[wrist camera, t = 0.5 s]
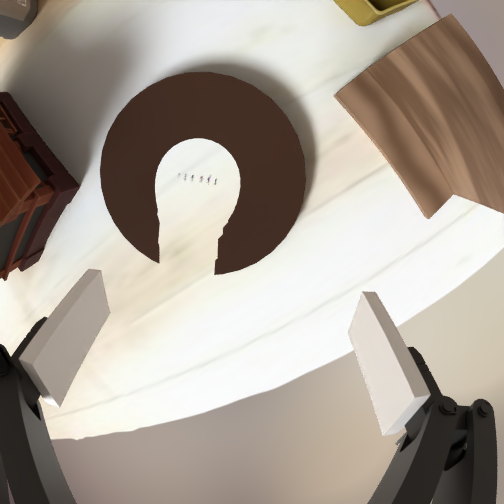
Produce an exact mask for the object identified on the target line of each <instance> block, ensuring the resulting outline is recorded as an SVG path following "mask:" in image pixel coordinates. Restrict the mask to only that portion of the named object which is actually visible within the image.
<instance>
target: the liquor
mask: <svg viewBox="0 0 504 504" xmlns="http://www.w3.org/2000/svg"><path fill="white" fill-rule="evenodd" d="M36 14H37V0H0V38H4V39H14V38H16V37H17V36H18V35H19V34H20V33H21V32H23V31H24V30H25V29H26V28H27V27H28V26H29V25H30V24H31V23H32V21H33V19H34V18H35V16H36Z"/></svg>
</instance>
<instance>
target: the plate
mask: <svg viewBox="0 0 504 504" xmlns="http://www.w3.org/2000/svg"><path fill="white" fill-rule="evenodd" d="M193 138H204V139H208V140H212V141H214V142H216V143H219V144H220V145H221V146H223V147H224V148H226V149H227V151H228V152H229V153H230V154H231V155H232V156H233V158H234V160H235V161H236V163H237V166H238V168H239V173H240V185H241V187H240V193H239V197H238V201H237V204H236V206H235V209H234V211H233V214H232V215H231V217H230V218H229V220H228V223H227V224H226V225H225V226H224V228H223V235H222V236H221V237H220V238H219V239H218V259H216V260H215V274H214V275H218V274H225V273H230V272H234V271H238V270H241V269H243V268H246V267H248V266H250V265H252V264H255V263H257V262H258V261H260V260H261V259H262V258H264V257H265V256H267V255H268V254H270V253H271V252H272V251H273V250H274V249H275V248H276V247H277V246H278V245H279V244H280V243H281V242H282V241H283V240H284V239H285V237H286V236H287V234H288V233H289V231H290V229H291V228H292V226H293V224H294V223H295V221H296V219H297V216H298V213H299V211H300V208H301V205H302V202H303V197H304V189H305V182H306V176H305V163H304V156H303V152H302V149H301V146H300V142H299V139H298V136H297V134H296V132H295V131H294V129H293V127H292V125H291V123H290V122H289V120H288V118H287V116H286V115H285V114H284V113H283V112H282V110H281V109H280V108H279V107H278V106H277V105H276V104H275V103H274V101H273V100H272V99H271V98H269V97H268V96H267V95H265V94H264V93H263V92H261V91H260V90H258V89H257V88H256V87H254V86H253V85H251V84H248V83H246V82H244V81H241V80H239V79H237V78H234V77H232V76H227V75H222V74H217V73H212V72H193V73H184V74H180V75H176V76H172V77H168V78H165V79H163V80H161V81H159V82H157V83H155V84H153V85H151V86H149V87H147V88H146V89H144V90H143V91H142V92H140V93H139V94H138V95H136V96H135V97H134V98H133V99H131V100H130V101H129V103H128V104H127V105H126V106H125V107H124V108H123V109H122V111H121V112H120V113H119V114H118V116H117V117H116V119H115V121H114V123H113V124H112V126H111V128H110V130H109V132H108V134H107V137H106V140H105V144H104V147H103V150H102V157H101V165H100V177H101V189H102V192H103V196H104V200H105V203H106V207H107V209H108V211H109V213H110V215H111V217H112V219H113V221H114V223H115V225H116V226H117V227H118V229H119V230H120V232H121V233H122V234H123V236H124V237H125V238H126V239H127V240H128V241H129V242H130V243H131V244H132V245H133V246H134V247H135V248H136V249H137V250H138V251H140V252H141V253H143V254H144V255H145V256H147V257H148V258H150V259H151V260H153V261H155V262H157V263H159V244H158V237H159V225H160V223H159V219H158V216H157V212H158V208H157V204H156V196H155V178H156V172H157V169H158V166H159V164H160V162H161V160H162V158H163V157H164V155H165V154H166V153H167V152H168V151H169V150H170V149H171V148H172V147H173V146H175V145H176V144H178V143H180V142H182V141H185V140H188V139H193ZM178 176H179V174H178ZM192 176H193V175H192ZM185 177H186V176H185ZM201 179H202V177H201ZM208 180H209V178H208ZM185 181H186V180H185ZM215 181H216V180H215ZM199 182H200V181H199ZM206 183H208V182H206ZM215 184H216V183H215Z"/></svg>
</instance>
